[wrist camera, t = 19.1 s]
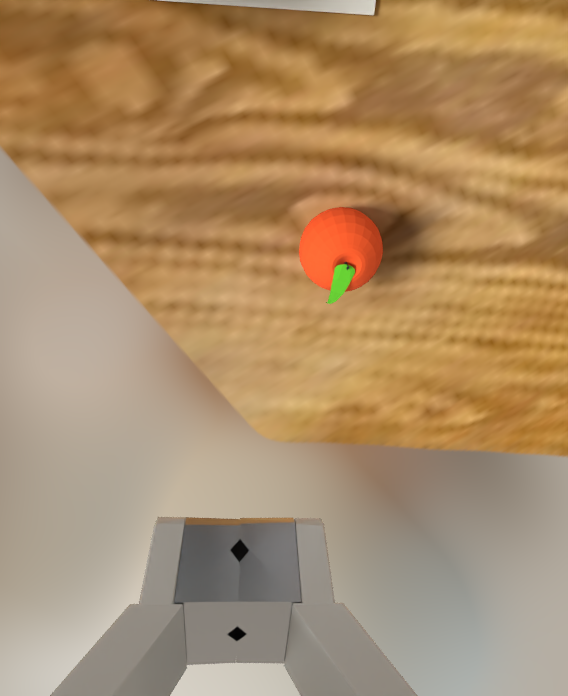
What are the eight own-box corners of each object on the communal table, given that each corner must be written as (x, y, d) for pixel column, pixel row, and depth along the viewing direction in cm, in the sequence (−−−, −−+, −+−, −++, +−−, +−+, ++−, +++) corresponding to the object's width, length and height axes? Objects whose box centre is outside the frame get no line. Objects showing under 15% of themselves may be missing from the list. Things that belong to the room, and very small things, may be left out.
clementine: (355, 287, 49) (370, 325, 43) (284, 272, 48) (289, 310, 42) (384, 206, 45) (405, 236, 39) (307, 187, 44) (317, 216, 38)
